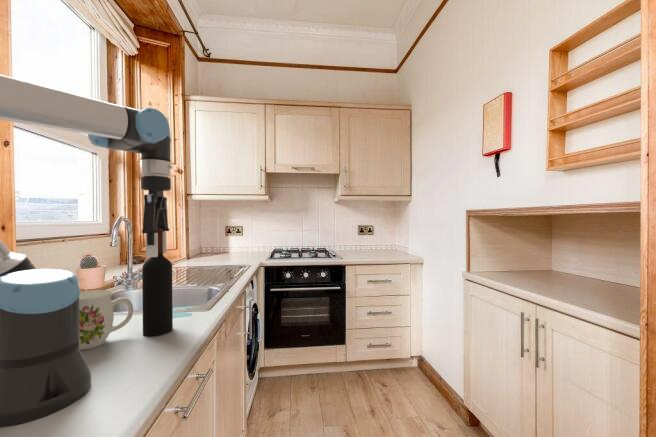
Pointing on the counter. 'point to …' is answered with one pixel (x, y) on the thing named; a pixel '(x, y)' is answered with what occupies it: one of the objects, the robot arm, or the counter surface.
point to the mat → (182, 314)
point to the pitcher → (98, 317)
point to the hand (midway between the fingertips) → (156, 254)
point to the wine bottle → (157, 293)
